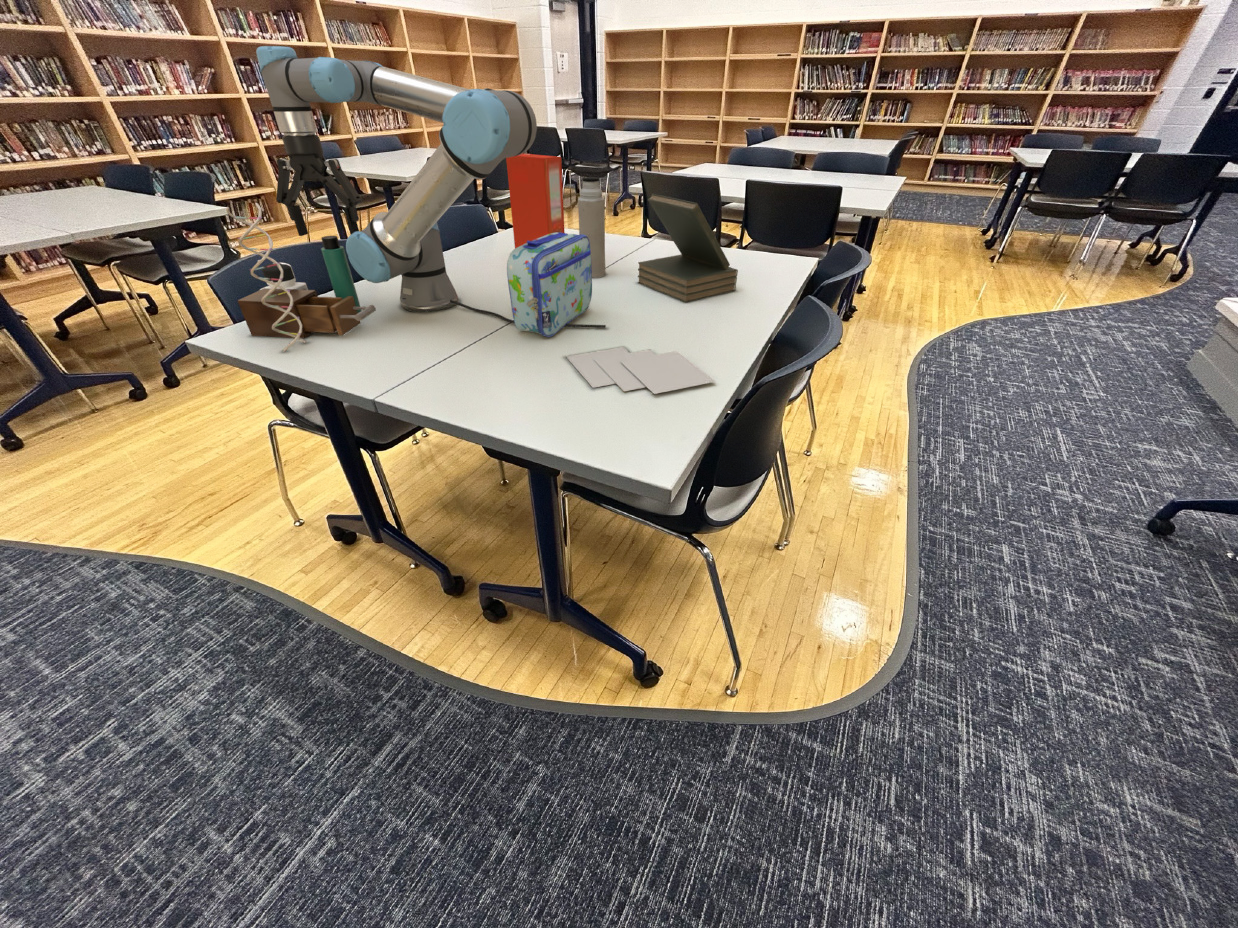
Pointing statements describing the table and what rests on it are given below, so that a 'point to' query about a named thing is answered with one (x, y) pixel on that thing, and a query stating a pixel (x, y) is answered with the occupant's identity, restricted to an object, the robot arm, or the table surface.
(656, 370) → the paper stack
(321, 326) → the drawer
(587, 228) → the thermos bottle
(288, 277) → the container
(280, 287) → the dna model
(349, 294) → the bottle
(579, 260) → the lunch box
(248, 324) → the cabinet
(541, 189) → the file binder
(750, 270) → the table surface
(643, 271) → the book stack
